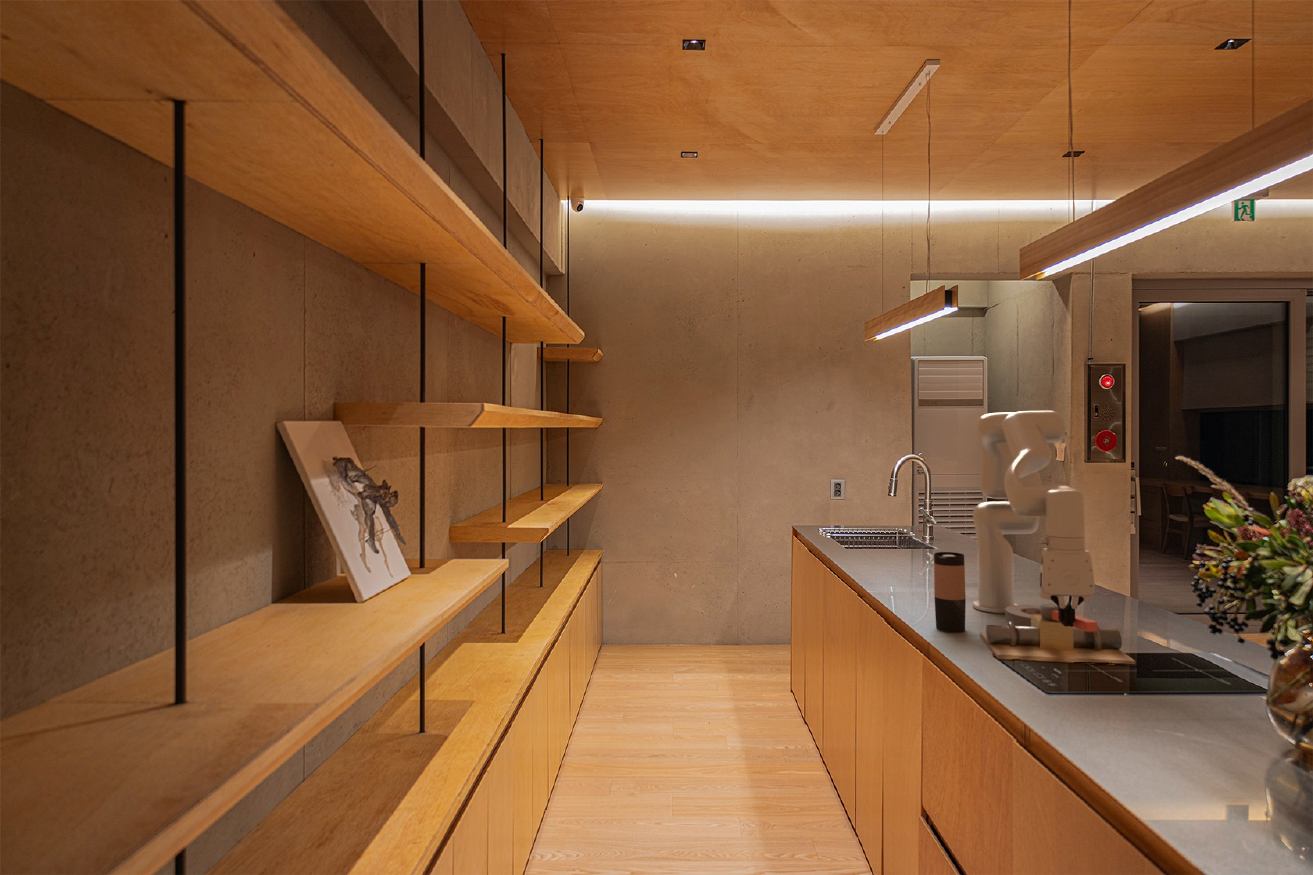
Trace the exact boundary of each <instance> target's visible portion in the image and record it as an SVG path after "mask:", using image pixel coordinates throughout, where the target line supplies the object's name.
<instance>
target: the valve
mask: <svg viewBox="0 0 1313 875" xmlns="http://www.w3.org/2000/svg"><path fill="white" fill-rule="evenodd" d="M985 633H986V636H987V641H988V643H990V644H1009V645H1010V646H1011V647H1016V646H1017V645H1036V646H1037V647H1038V648H1039V649H1040V650H1062V651H1074V649H1073V647H1082V648H1092V649H1094V650H1095V651H1101V649H1102V648H1104V649H1119V650H1120V649H1121V648H1122V644H1123V641H1122V640H1123V639H1122V635H1121V633H1120V630H1118V629H1112V628H1110V629H1109V628H1100V627H1099V626H1098V625H1097V631H1091V632H1087V631H1084V630H1081V629H1078V628H1076V627H1070V626H1068V627H1065V626H1064V625H1063V624H1061V622H1060V621H1057V620H1051V619H1045V618H1042V617H1041V615H1035V614H1031V626H1015V624H1014V622H1013V621H1006V622H1005V621H1004V625H1003V624H987V625H986V628H985Z"/></svg>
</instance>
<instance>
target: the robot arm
mask: <svg viewBox="0 0 1313 875" xmlns="http://www.w3.org/2000/svg"><path fill="white" fill-rule="evenodd" d="M1066 430H1067V428H1066V422H1065V420H1064V419H1063V416H1062V415H1061V414H1060V413H1058V411H1055V410H1023V411H1016V412H992V413H991V412H990V413H986V414H983V415H981V416H980V417H979V418H978V419H977V423H976V435H977V439H978V442H979V445H980V448H981V449H980V450H981V459H980V460H981V463H980V492H981V493H982V495H983V496H984V497H986V498H988V499H995V500H996V499H999V500H1001V499H1003V500H1005V499H1006V500H1008V501H1006V500H1005V501H999V500H998V501H985V502H979V503H978V504H977V505H975V507H974V508H973V511H972V518H973V524H974V530H975V536H976V550H977V551H976V553H977V554H976V555H977V594H978V595H977V596H978V597H977V598H978V599H977V600H975V601H973V602H972V607H973V608H974V609H976V610H979V611H982V612H987V613H992V614H993V613H994V614H1005V608H1006V607H1008V606H1013V605H1019V604H1018V603H1015V583H1014V582H1015V579H1014V576H1015V574H1014V551H1013V547H1012V545H1011V544H1010V542H1009V541H1008V540H1007V539H1006V538H1005V537H1004V535H1029V534H1034V533H1035V532H1037V530H1038V528H1039V525H1040V520H1041V519H1040V518H1045V535H1044V537H1041V538H1038V543H1039V545H1043V546H1045V547H1044V548H1043V549H1042V553H1041V560H1040V567H1039V587H1040V590H1039V593H1038V594H1039V597H1040V598H1042V599H1046V600H1048V601H1052V602H1053V603H1054V605H1058V619H1059V621H1060V622H1061V624H1063V625H1064V626H1065V627H1068V626H1070V627H1073V622H1075V615H1076V609H1078V607H1079V606H1080V605H1081V604H1082V603H1083V602H1088V601H1093V600H1094V599H1095V592H1096V591H1095V590H1096V588H1095V587H1096V586H1095V584H1096V583H1095V574H1094V567H1093V562H1092V557H1091V553H1090V551H1089V550H1087V549H1086V541H1085V540H1086V536H1085V534H1086V533H1085V532H1086V530H1085V496H1084V493H1083V492H1082V491H1081V490H1080V489H1075V488H1072V487H1070V486H1068V485H1045V484H1044V485H1043V484H1042V483H1043V482H1042V479H1041V474H1040V472H1039V471H1041V470H1042V469H1044V468H1046V467H1047V466H1048V465H1049V464H1050V462H1051V461H1052V457H1053V453H1052V450H1051V448H1050V446H1049V443H1050V444H1052V443H1053V444H1054V443H1055V444H1056V443H1059V442H1061V441H1062V440H1063V439H1064V437H1065V435H1066V432H1067V431H1066ZM1065 597H1068V598H1067V603H1066V601H1065ZM1073 628H1074V627H1073Z"/></svg>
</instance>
